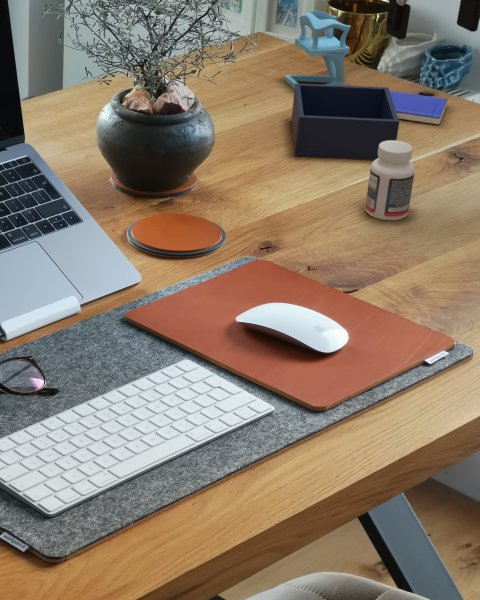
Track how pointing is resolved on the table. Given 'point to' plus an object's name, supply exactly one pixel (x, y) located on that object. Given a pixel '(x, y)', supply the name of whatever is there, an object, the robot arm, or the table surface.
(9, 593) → the table surface
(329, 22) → the chair
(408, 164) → the pill bottle
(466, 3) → the robot arm
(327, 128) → the bin
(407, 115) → the blue book
